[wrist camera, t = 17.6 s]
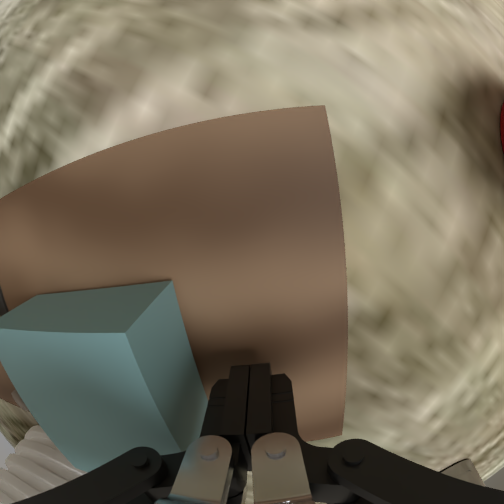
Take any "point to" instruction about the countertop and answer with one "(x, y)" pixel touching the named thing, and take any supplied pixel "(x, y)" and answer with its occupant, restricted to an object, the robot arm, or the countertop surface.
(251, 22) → the countertop surface
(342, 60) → the countertop surface
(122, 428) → the block
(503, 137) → the canned food
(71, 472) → the plate stack
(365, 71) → the countertop surface
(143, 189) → the board
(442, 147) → the countertop surface
